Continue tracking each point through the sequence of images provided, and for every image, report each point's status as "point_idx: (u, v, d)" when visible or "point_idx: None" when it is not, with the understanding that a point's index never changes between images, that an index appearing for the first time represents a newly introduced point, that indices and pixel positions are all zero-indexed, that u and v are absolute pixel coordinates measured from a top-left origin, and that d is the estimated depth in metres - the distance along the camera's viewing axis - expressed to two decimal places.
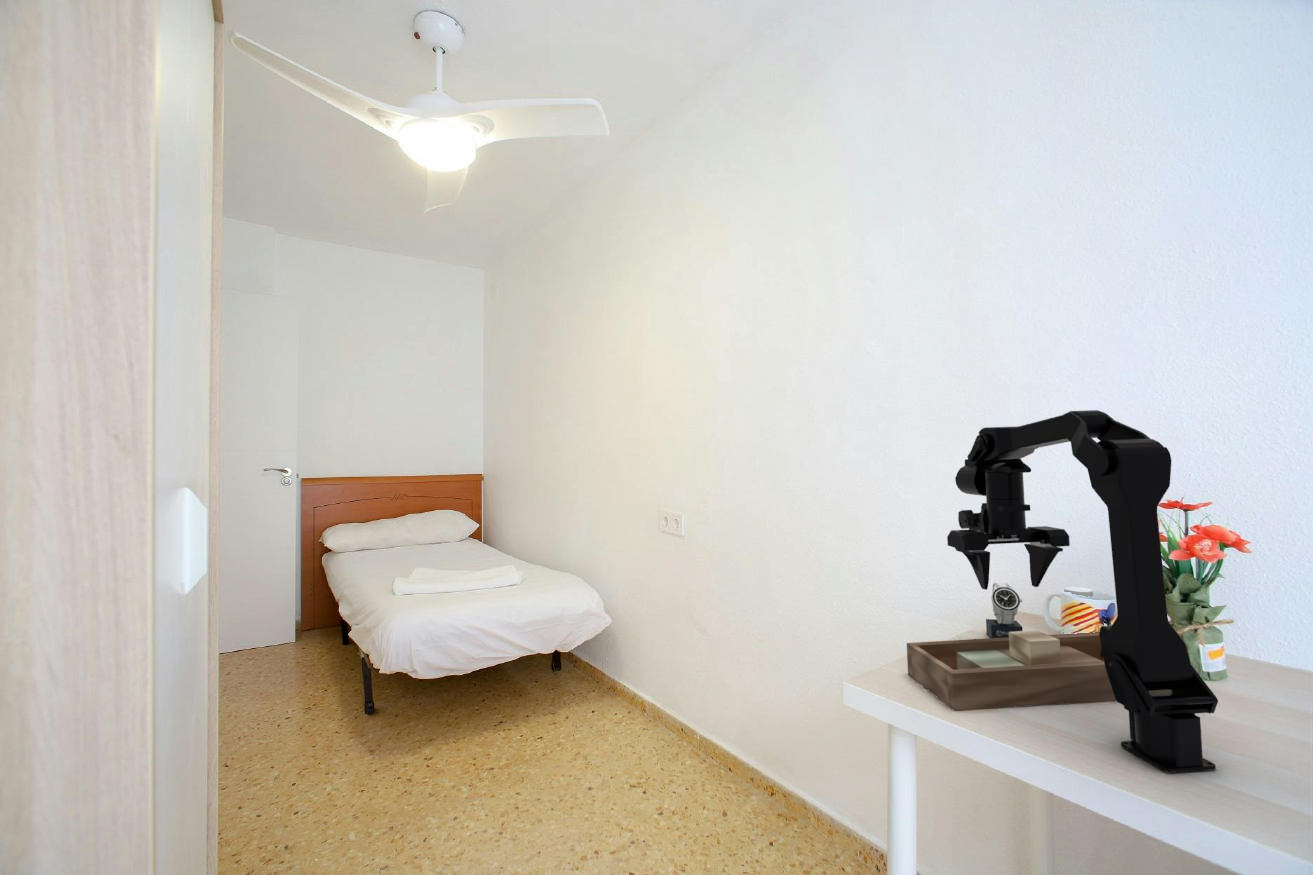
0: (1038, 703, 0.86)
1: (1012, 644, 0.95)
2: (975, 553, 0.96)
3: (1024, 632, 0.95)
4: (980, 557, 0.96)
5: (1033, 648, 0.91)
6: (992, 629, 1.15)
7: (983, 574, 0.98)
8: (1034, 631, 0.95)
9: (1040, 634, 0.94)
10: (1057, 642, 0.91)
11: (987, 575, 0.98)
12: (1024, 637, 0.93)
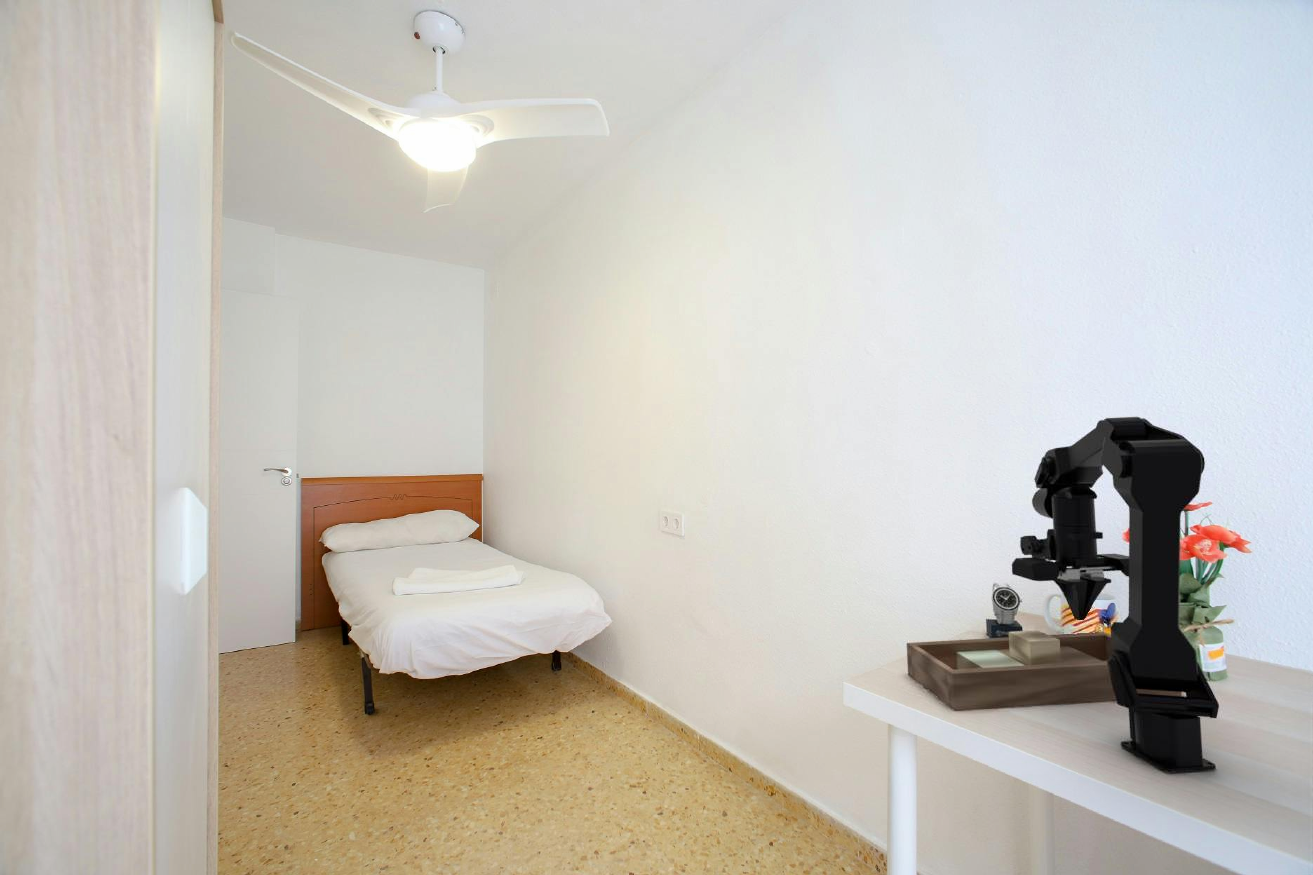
0: (1038, 703, 0.86)
1: (1012, 644, 0.95)
2: (1071, 582, 0.91)
3: (1024, 632, 0.95)
4: (1076, 586, 0.91)
5: (1033, 648, 0.91)
6: (992, 629, 1.15)
7: (1078, 604, 0.92)
8: (1034, 631, 0.95)
9: (1040, 634, 0.94)
10: (1057, 642, 0.91)
11: (1083, 605, 0.92)
12: (1024, 637, 0.93)
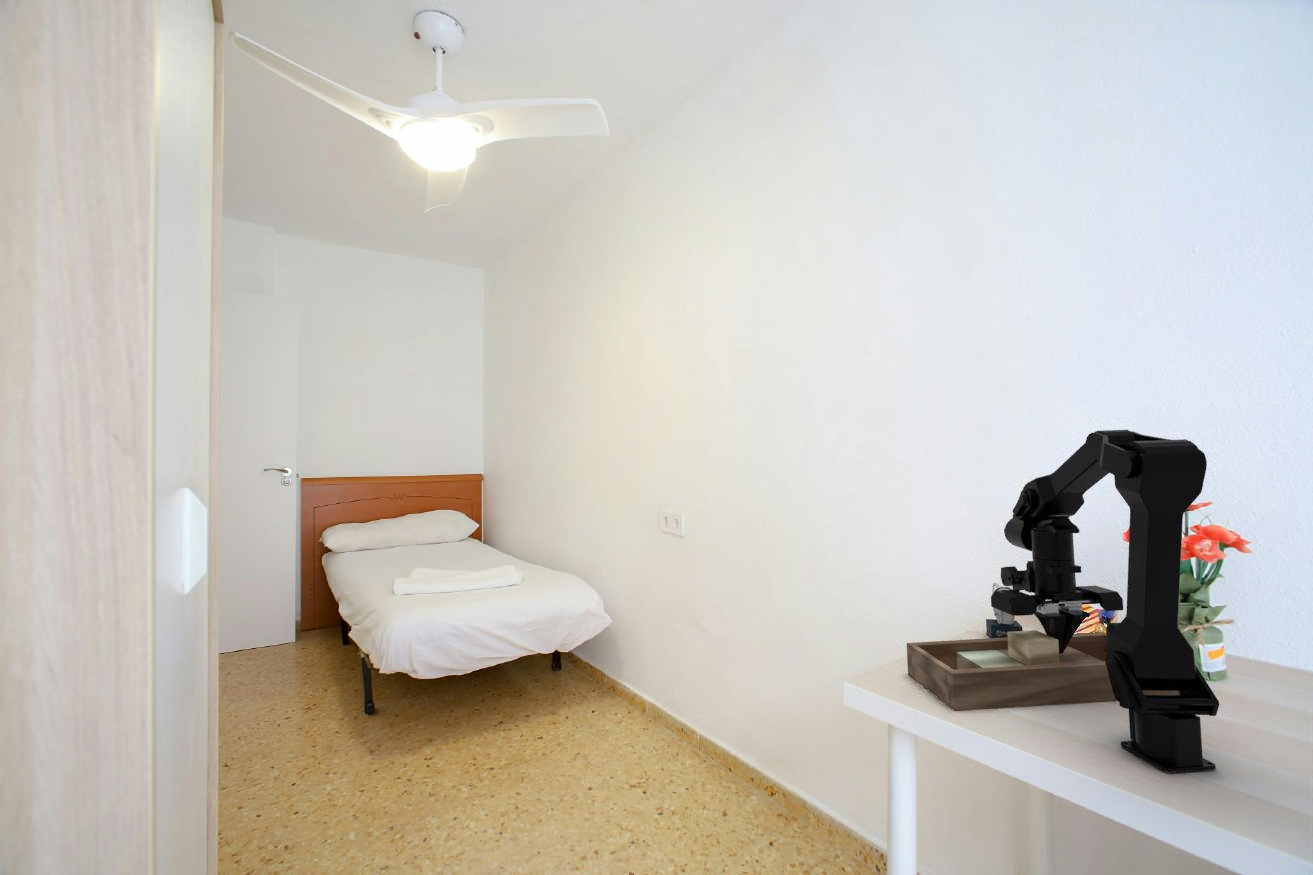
0: (1038, 703, 0.86)
1: (1010, 644, 0.95)
2: (1050, 617, 0.91)
3: (1023, 632, 0.95)
4: (1055, 621, 0.91)
5: (1032, 648, 0.91)
6: (992, 629, 1.15)
7: (1057, 638, 0.92)
8: (1033, 631, 0.95)
9: (1039, 634, 0.94)
10: (1056, 642, 0.91)
11: (1061, 639, 0.92)
12: (1023, 637, 0.93)
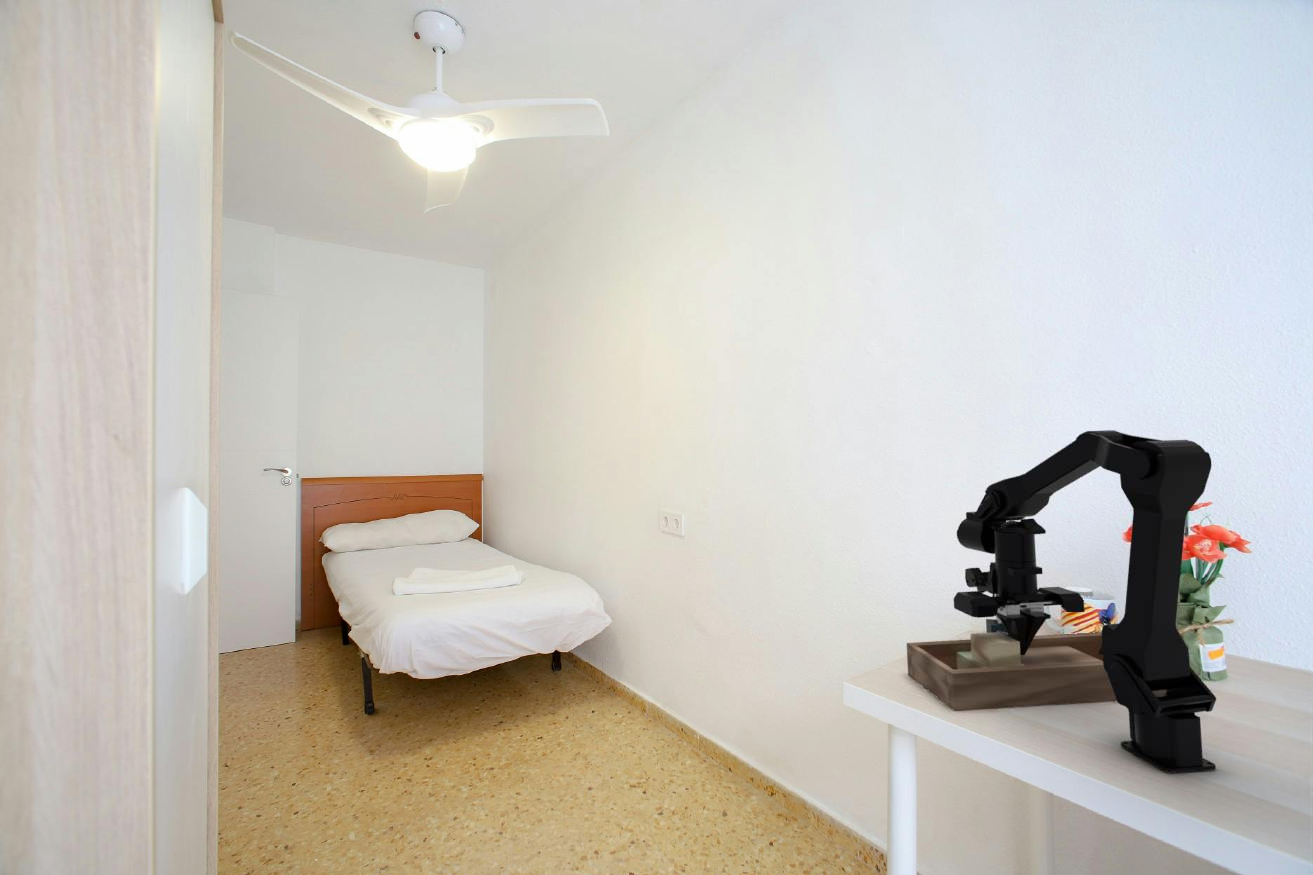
0: (1038, 703, 0.86)
1: (973, 646, 0.95)
2: (1011, 618, 0.90)
3: (986, 634, 0.95)
4: (1016, 622, 0.91)
5: (993, 651, 0.91)
6: (992, 629, 1.15)
7: (1018, 639, 0.92)
8: (996, 633, 0.95)
9: (1001, 636, 0.94)
10: (1017, 645, 0.91)
11: (1023, 641, 0.92)
12: (985, 639, 0.93)
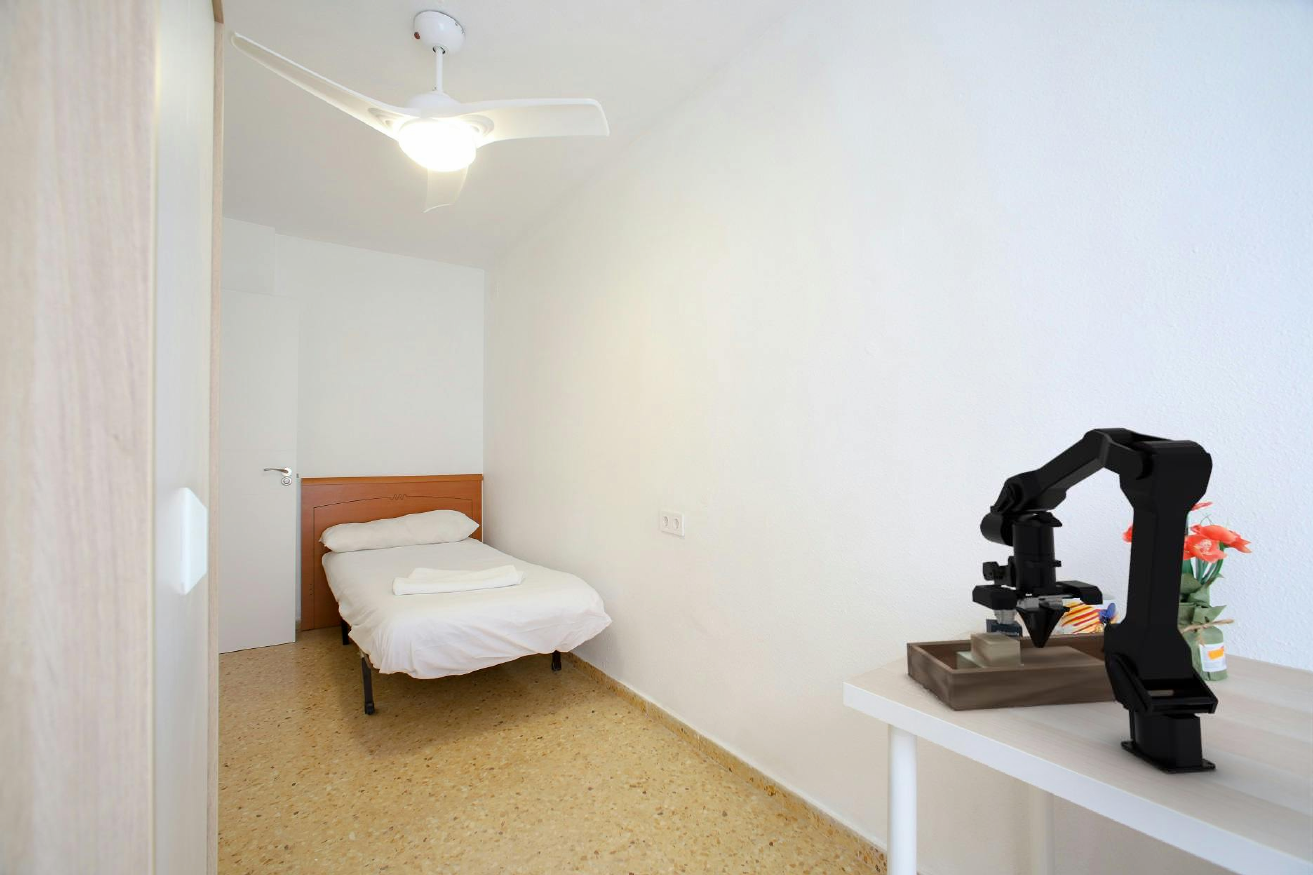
0: (1038, 703, 0.86)
1: (973, 646, 0.95)
2: (1030, 611, 0.91)
3: (986, 634, 0.95)
4: (1035, 615, 0.91)
5: (993, 651, 0.91)
6: (992, 629, 1.15)
7: (1037, 632, 0.92)
8: (996, 633, 0.95)
9: (1001, 636, 0.94)
10: (1017, 645, 0.91)
11: (1041, 633, 0.92)
12: (985, 639, 0.93)
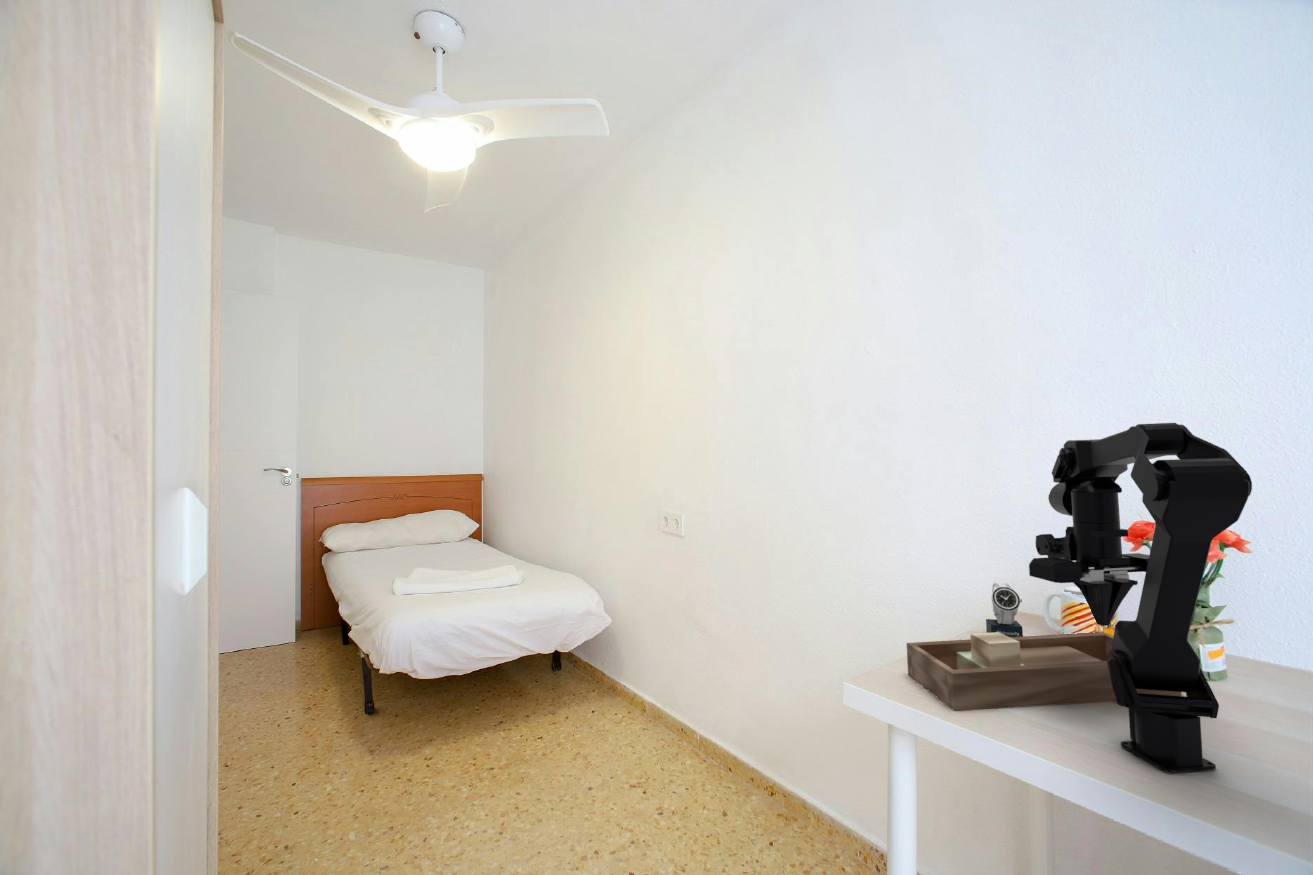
0: (1038, 703, 0.86)
1: (973, 646, 0.95)
2: (1095, 584, 0.83)
3: (986, 634, 0.95)
4: (1101, 589, 0.83)
5: (993, 651, 0.91)
6: (992, 629, 1.15)
7: (1102, 608, 0.85)
8: (996, 633, 0.95)
9: (1001, 636, 0.94)
10: (1017, 645, 0.91)
11: (1107, 609, 0.85)
12: (985, 639, 0.93)
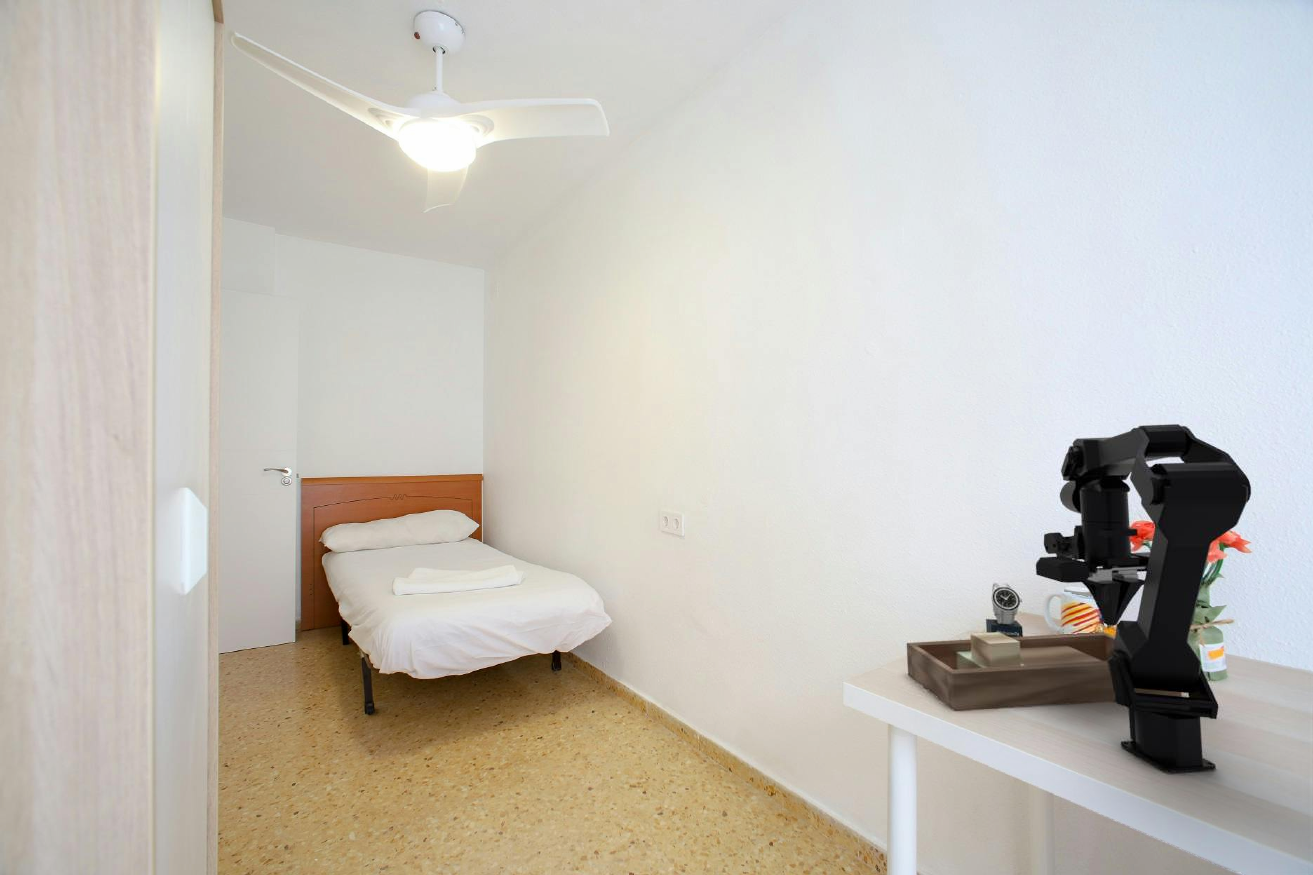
0: (1038, 703, 0.86)
1: (973, 646, 0.95)
2: (1103, 584, 0.83)
3: (986, 634, 0.95)
4: (1109, 588, 0.83)
5: (993, 651, 0.91)
6: (992, 629, 1.15)
7: (1110, 608, 0.84)
8: (996, 633, 0.95)
9: (1001, 636, 0.94)
10: (1017, 645, 0.91)
11: (1115, 609, 0.84)
12: (985, 639, 0.93)
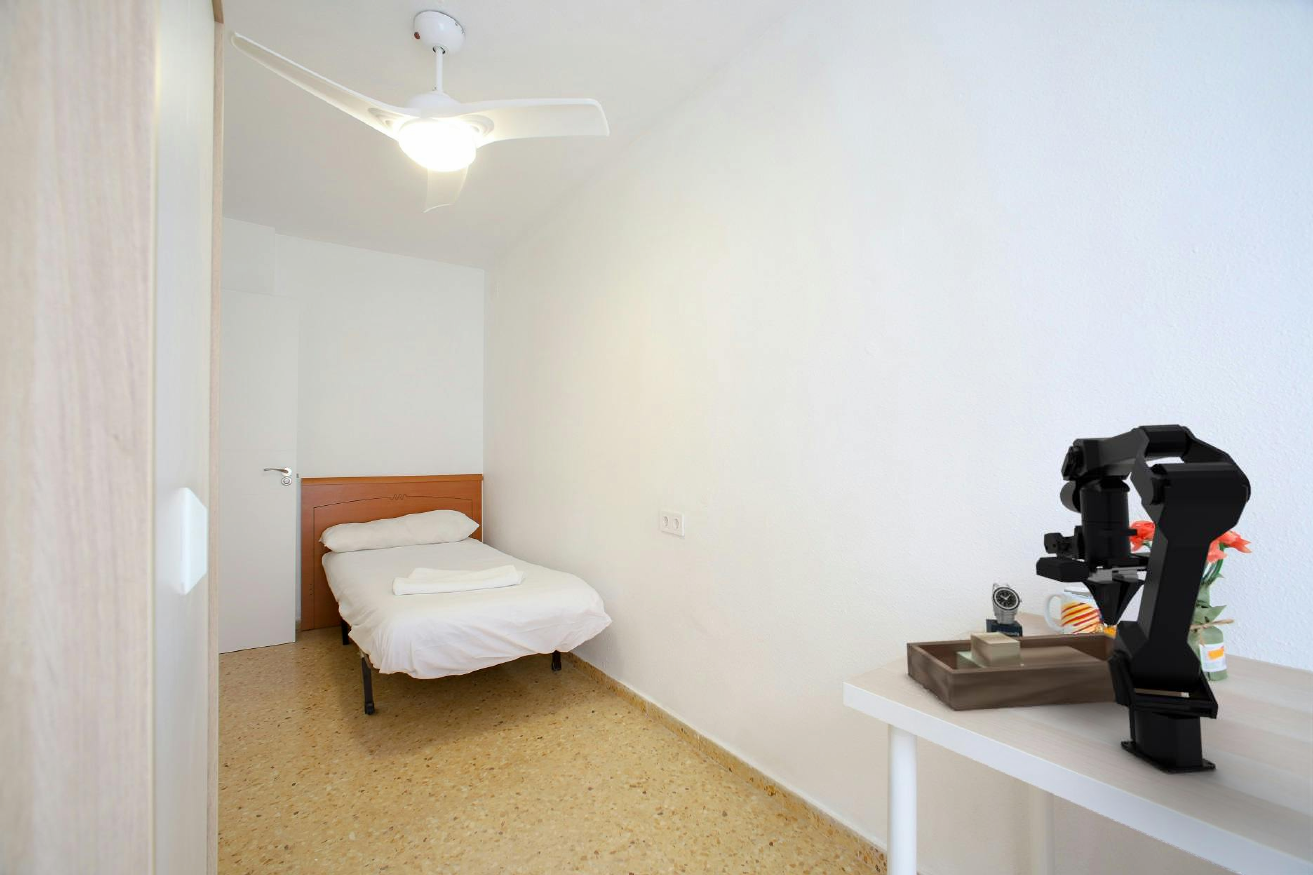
0: (1038, 703, 0.86)
1: (973, 646, 0.95)
2: (1103, 584, 0.83)
3: (986, 634, 0.95)
4: (1109, 588, 0.83)
5: (993, 651, 0.91)
6: (992, 629, 1.15)
7: (1110, 608, 0.84)
8: (996, 633, 0.95)
9: (1001, 636, 0.94)
10: (1017, 645, 0.91)
11: (1115, 609, 0.84)
12: (985, 639, 0.93)
